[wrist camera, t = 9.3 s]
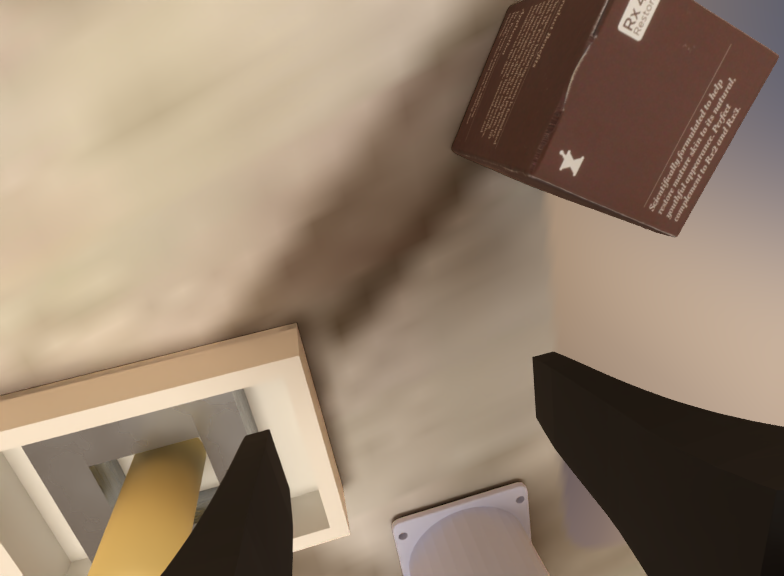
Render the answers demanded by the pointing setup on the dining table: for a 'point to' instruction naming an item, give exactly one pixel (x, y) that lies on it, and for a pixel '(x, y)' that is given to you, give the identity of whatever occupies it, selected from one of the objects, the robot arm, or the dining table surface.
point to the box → (614, 103)
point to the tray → (156, 392)
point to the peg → (152, 511)
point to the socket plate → (128, 437)
